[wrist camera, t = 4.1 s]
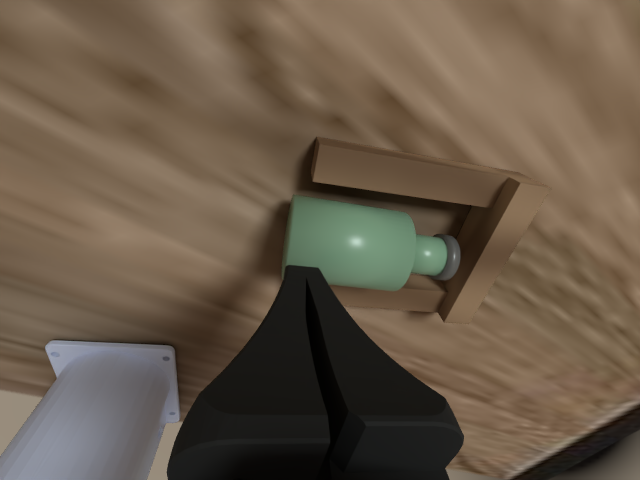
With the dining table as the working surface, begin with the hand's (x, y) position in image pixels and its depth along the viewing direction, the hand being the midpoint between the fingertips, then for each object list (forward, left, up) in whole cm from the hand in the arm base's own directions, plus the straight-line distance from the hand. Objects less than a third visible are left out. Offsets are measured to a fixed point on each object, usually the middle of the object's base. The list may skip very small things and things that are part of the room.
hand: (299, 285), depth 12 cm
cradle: (0, -5, -6) cm, 8 cm away
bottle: (0, +1, -4) cm, 4 cm away
